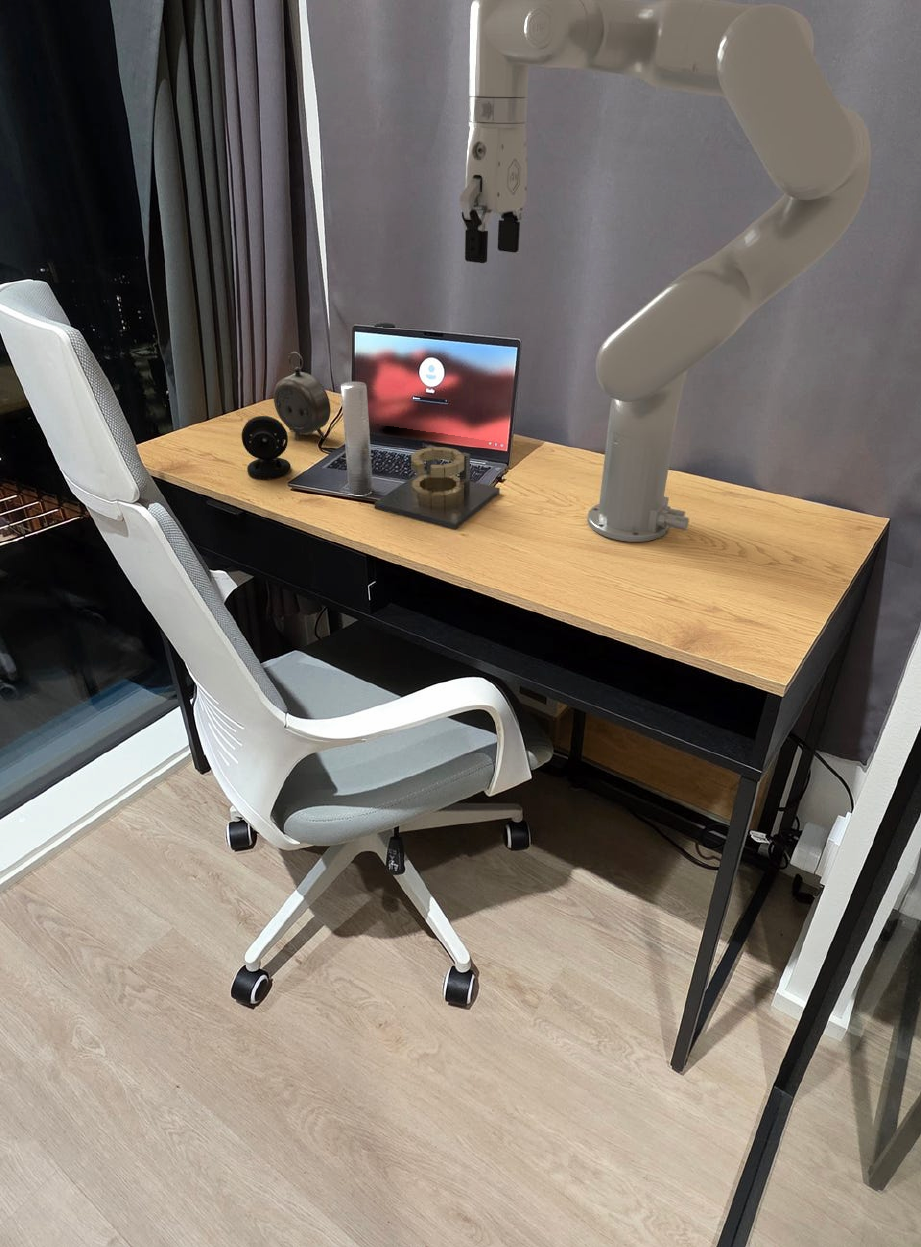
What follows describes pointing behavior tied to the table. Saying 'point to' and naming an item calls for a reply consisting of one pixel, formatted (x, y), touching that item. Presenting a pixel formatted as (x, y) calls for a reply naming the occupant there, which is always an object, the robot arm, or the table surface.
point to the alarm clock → (302, 402)
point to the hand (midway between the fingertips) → (492, 256)
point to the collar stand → (439, 490)
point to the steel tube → (357, 437)
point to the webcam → (265, 447)
